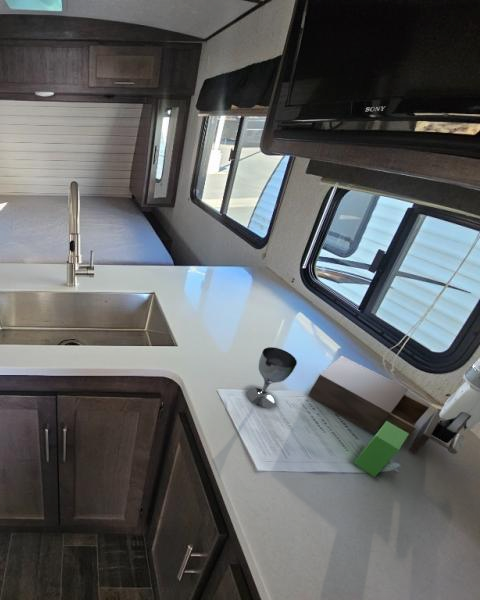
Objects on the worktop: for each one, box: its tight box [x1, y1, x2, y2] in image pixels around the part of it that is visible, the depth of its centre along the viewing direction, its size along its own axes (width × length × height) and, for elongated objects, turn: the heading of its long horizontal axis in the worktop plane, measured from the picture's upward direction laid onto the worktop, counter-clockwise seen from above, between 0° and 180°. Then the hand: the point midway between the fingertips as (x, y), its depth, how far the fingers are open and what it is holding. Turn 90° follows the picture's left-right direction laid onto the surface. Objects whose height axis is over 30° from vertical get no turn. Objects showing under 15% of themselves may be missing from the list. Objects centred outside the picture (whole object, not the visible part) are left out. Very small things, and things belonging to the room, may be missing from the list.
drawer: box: [377, 393, 464, 455], centre depth 81 cm, size 19×13×6 cm
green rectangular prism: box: [353, 421, 409, 478], centre depth 72 cm, size 4×7×10 cm, turn 125°
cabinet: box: [307, 355, 409, 436], centre depth 88 cm, size 16×15×8 cm
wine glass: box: [246, 347, 298, 409], centre depth 87 cm, size 8×8×15 cm
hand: (438, 436), depth 76 cm, fingers closed
